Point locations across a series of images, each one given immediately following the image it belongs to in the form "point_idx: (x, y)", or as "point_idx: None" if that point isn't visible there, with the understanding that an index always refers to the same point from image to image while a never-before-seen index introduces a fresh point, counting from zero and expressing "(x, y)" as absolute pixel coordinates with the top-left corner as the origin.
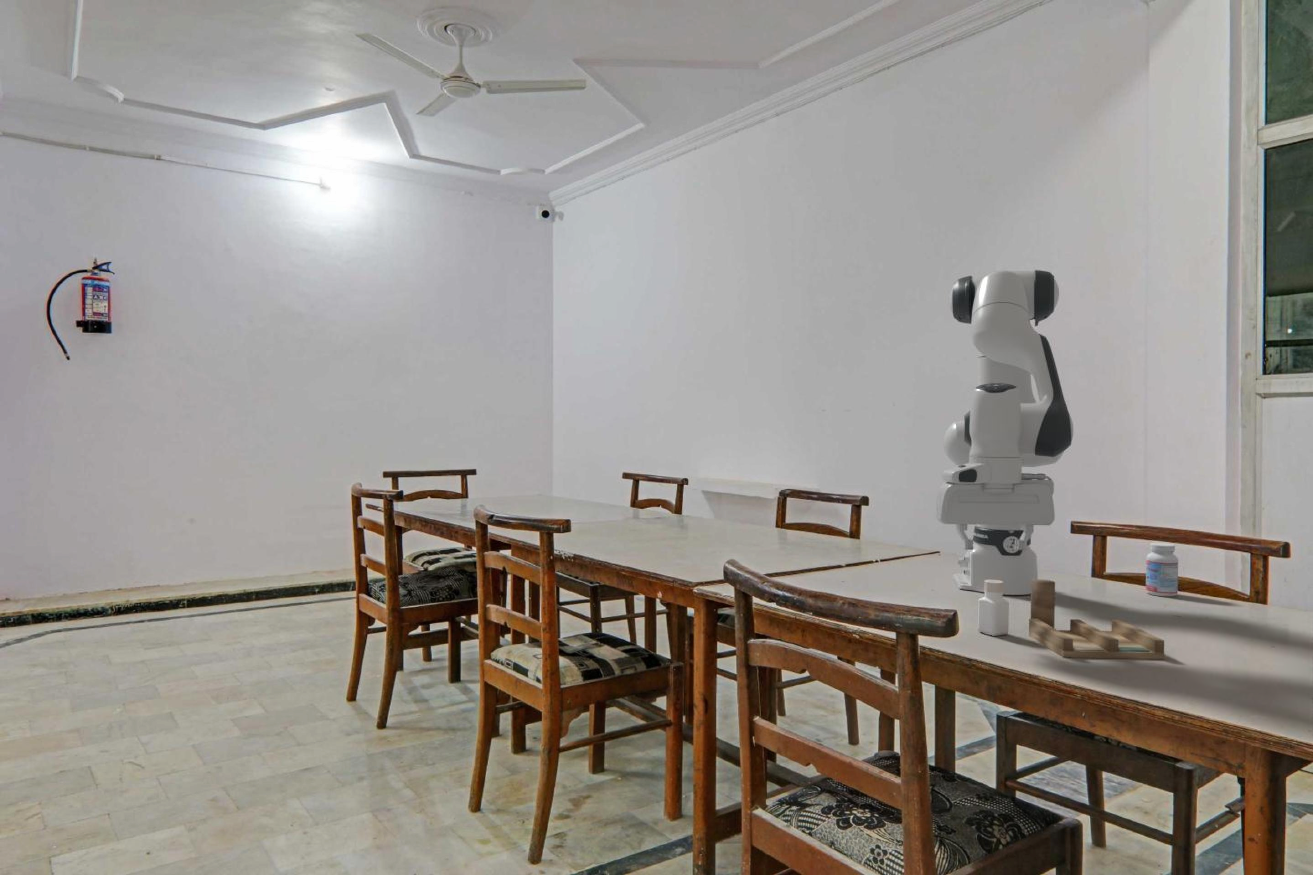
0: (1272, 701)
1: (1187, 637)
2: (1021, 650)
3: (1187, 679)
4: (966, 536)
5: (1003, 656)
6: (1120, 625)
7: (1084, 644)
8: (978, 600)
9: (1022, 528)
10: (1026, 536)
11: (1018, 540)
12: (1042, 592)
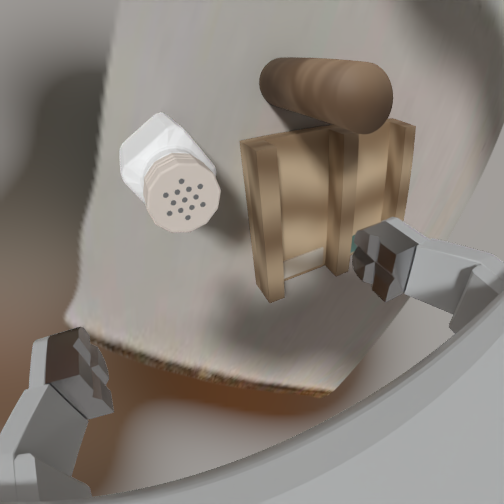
0: (374, 331)
1: (453, 113)
2: (196, 269)
3: (354, 307)
4: (77, 445)
5: (161, 315)
6: (400, 158)
7: (310, 234)
8: (121, 175)
9: (471, 294)
10: (430, 301)
11: (389, 291)
12: (336, 125)
